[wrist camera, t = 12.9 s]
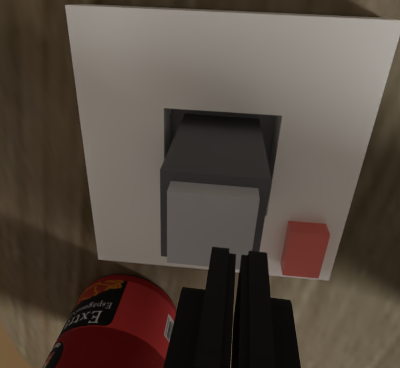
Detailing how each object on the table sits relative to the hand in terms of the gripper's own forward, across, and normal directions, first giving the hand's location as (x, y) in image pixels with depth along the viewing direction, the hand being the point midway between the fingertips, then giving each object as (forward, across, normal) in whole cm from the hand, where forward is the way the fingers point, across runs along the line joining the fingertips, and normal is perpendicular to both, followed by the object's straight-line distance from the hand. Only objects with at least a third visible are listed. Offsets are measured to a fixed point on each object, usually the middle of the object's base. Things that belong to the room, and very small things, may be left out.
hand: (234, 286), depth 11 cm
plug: (+10, +1, 0) cm, 10 cm away
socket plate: (+10, +1, 0) cm, 10 cm away
